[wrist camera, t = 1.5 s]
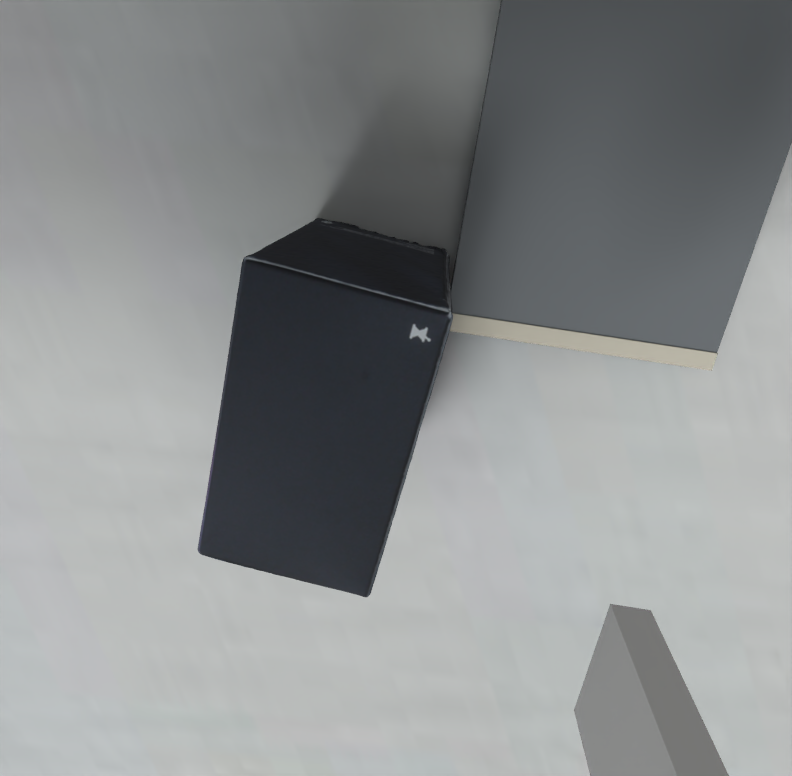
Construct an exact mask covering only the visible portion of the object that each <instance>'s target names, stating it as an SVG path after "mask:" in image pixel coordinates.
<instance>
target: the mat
mask: <svg viewBox="0 0 792 776" xmlns="http://www.w3.org/2000/svg"><path fill="white" fill-rule="evenodd" d="M791 143H792V0H501V6H500V12H499V17H498V23H497V29H496V34H495V40H494V46H493V51H492V57H491V63H490V68H489V74H488V80H487V85H486V91H485V97H484V102H483V108H482V114H481V119H480V125H479V131H478V136H477V142H476V148H475V153H474V159H473V165H472V170H471V176H470V182H469V187H468V193H467V199H466V204H465V210H464V216H463V221H462V227H461V233H460V238H459V244H458V250H457V255H456V261H455V267H454V272H453V278H452V284H451V299H452V302H451V303H452V308H453V309H452V314H453V320H452V324H451V327H450V331H452V332H459V333H466V334H472V335H479V336H485V337H492V338H499V339H505V340H512V341H519V342H525V343H532V344H538V345H545V346H552V347H558V348H565V349H572V350H578V351H585V352H591V353H598V354H605V355H611V356H618V357H625V358H631V359H638V360H644V361H651V362H658V363H664V364H671V365H678V366H684V367H691V368H697V369H704V370H711V371H712V369H713V366H714V363H715V360H716V358H717V355H718V353H717V351H718V348H719V346H720V343H721V340H722V337H723V334H724V331H725V329H726V326H727V323H728V320H729V317H730V315H731V312H732V309H733V306H734V303H735V300H736V298H737V295H738V292H739V289H740V286H741V284H742V281H743V278H744V275H745V272H746V269H747V267H748V264H749V261H750V258H751V255H752V253H753V250H754V247H755V244H756V241H757V238H758V236H759V233H760V230H761V227H762V224H763V222H764V219H765V216H766V213H767V210H768V207H769V205H770V202H771V199H772V196H773V193H774V191H775V188H776V185H777V182H778V179H779V176H780V174H781V171H782V168H783V165H784V162H785V160H786V157H787V154H788V151H789V148H790V145H791Z"/></svg>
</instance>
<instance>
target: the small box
mask: <svg viewBox="0 0 792 776" xmlns="http://www.w3.org/2000/svg"><path fill="white" fill-rule="evenodd" d="M451 302H452V299H451V288H450V282H449V255H448V254H447V252H446V250H445V249H439V248H437V247H431V246H421V245H419V244H418V243H416V242H413V243H411V242H409V241H406V240H401V239H400V240H399V239H396V238H395V237H388V236H386V235H381V234H378V233H377V232H371V231H367V230H364V229H360V228H358V227H357V226H355V225H350V224H345V223H342V222H335V221H328V220H324V219H320V218H318V219H315V220H314V221H312V222H310V223H309V224H307V225H305V226H304V227H302V228H300V229H298V230H296V231H295V232H293V233H291V234H289V235H287V236H286V237H284V238H282V239H280V240H278V241H276V242H274V243H272V244H270V245H268V246H266V247H265V248H263V249H262V250H260V251H258V252H256V253H254V254H252V255H248V256H246V257H244V259H243V262H242V267H241V274H240V282H239V288H238V293H237V301H236V308H235V314H234V321H233V328H232V334H231V341H230V348H229V354H228V361H227V367H226V374H225V381H224V387H223V394H222V400H221V407H220V413H219V420H218V426H217V432H216V439H215V445H214V451H213V458H212V464H211V471H210V477H209V483H208V490H207V496H206V502H205V508H204V514H203V520H202V526H201V532H200V538H199V544H198V552H199V553H200V554H202V555H205V556H208V557H211V558H215V559H218V560H221V561H225V562H229V563H233V564H237V565H241V566H244V567H248V568H253V569H256V570H260V571H265V572H268V573H272V574H275V575H280V576H284V577H289V578H293V579H296V580H300V581H304V582H308V583H312V584H316V585H320V586H324V587H328V588H332V589H337V590H341V591H345V592H349V593H353V594H357V595H360V596H363V597H368V596H369V595H370V593H371V590H372V587H373V584H374V580H375V577H376V574H377V571H378V567H379V564H380V561H381V558H382V555H383V551H384V548H385V545H386V541H387V538H388V534H389V531H390V527H391V525H392V521H393V518H394V515H395V512H396V508H397V505H398V501H399V498H400V495H401V491H402V488H403V485H404V482H405V479H406V475H407V472H408V468H409V465H410V462H411V459H412V455H413V452H414V448H415V445H416V441H417V438H418V434H419V430H420V427H421V424H422V421H423V418H424V415H425V411H426V408H427V404H428V401H429V398H430V395H431V392H432V388H433V385H434V381H435V378H436V375H437V371H438V367H439V364H440V361H441V358H442V354H443V350H444V347H445V344H446V341H447V337H448V334H449V331H450V327H451V324H452V320H453V314H452V309H453V308H452V303H451Z"/></svg>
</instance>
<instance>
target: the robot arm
mask: <svg viewBox="0 0 792 776" xmlns="http://www.w3.org/2000/svg"><path fill="white" fill-rule="evenodd" d="M574 712H575V716H576V720H577V724H578V728H579V732H580V736H581V740H582V744H583V748H584V752H585V756H586V760H587V764H588V768H589V772H590V776H729V775H728V773H727V771H726V769H725V767H724V764H723V762H722V760H721V758H720V756H719V754H718V752H717V750H716V748H715V745H714V743H713V741H712V739H711V737H710V735H709V733H708V731H707V728H706V726H705V724H704V722H703V720H702V718H701V716H700V714H699V712H698V709H697V707H696V705H695V703H694V701H693V699H692V697H691V695H690V693H689V690H688V688H687V686H686V684H685V682H684V680H683V678H682V676H681V673H680V671H679V669H678V667H677V665H676V663H675V661H674V659H673V657H672V654H671V652H670V650H669V648H668V646H667V644H666V642H665V640H664V637H663V635H662V633H661V631H660V629H659V627H658V625H657V623H656V621H655V618H654V616H653V614H652V612H651V610H645V609H639V608H633V607H626V606H620V605H613V604H610V607H609V609H608V612H607V615H606V618H605V621H604V624H603V627H602V630H601V633H600V636H599V639H598V642H597V645H596V647H595V650H594V653H593V656H592V659H591V662H590V665H589V668H588V671H587V674H586V677H585V680H584V683H583V686H582V688H581V691H580V694H579V697H578V700H577V703H576V706H575V709H574Z"/></svg>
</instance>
